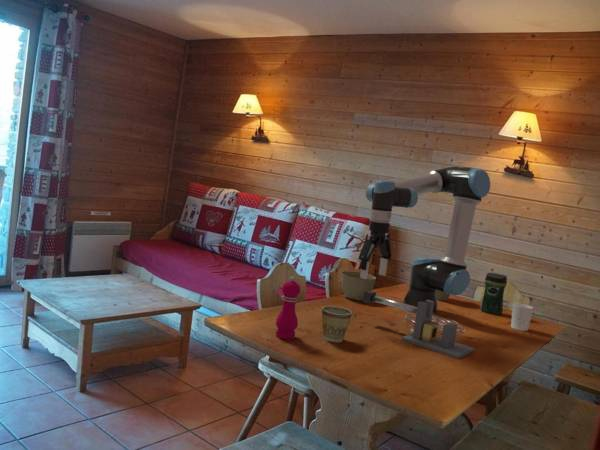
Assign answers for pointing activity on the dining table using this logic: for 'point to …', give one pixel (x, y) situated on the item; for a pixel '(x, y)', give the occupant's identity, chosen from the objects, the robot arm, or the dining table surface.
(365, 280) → the planter bowl
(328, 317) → the ceramic cup
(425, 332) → the spacer
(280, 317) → the pepper mill
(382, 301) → the shaft
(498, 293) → the coffee jar
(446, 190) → the robot arm
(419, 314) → the shaft stand
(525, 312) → the white cup
